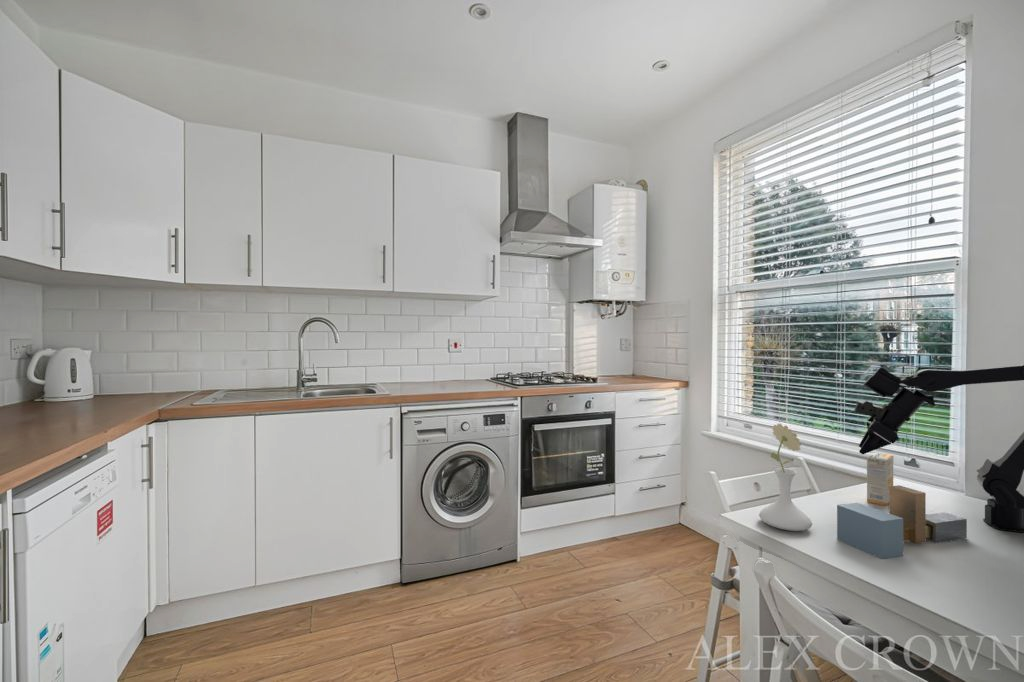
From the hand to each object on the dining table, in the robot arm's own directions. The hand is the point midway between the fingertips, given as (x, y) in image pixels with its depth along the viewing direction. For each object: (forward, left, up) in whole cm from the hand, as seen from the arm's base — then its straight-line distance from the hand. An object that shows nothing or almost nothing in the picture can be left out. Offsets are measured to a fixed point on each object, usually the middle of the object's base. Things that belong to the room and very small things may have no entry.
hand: (860, 450), depth 131 cm
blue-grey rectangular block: (+9, +34, -15) cm, 38 cm away
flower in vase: (+24, +26, -15) cm, 39 cm away
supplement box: (-6, -4, -15) cm, 17 cm away
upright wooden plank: (-3, +26, -14) cm, 29 cm away
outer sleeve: (-9, +22, -15) cm, 28 cm away
